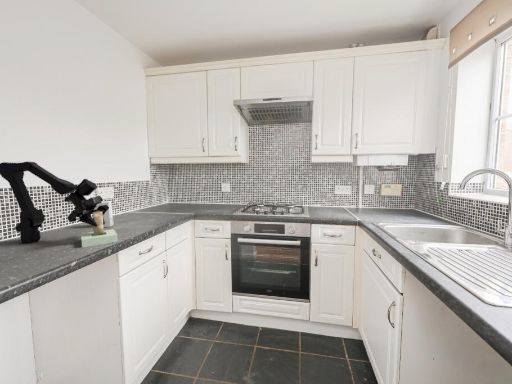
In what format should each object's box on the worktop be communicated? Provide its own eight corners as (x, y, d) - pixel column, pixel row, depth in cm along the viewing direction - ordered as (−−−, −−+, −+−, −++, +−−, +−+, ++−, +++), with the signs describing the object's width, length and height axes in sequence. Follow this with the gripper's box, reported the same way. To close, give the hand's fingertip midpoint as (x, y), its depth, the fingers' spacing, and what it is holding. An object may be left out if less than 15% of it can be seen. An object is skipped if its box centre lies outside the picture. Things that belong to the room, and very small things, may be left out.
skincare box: (113, 224, 150) (112, 200, 149) (110, 227, 144) (108, 202, 143) (98, 225, 148) (97, 201, 147) (94, 228, 142) (93, 202, 140)
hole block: (82, 247, 106) (81, 239, 105) (81, 240, 117) (81, 233, 116) (117, 241, 114) (117, 234, 114) (114, 235, 125) (113, 229, 125)
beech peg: (94, 239, 112) (92, 213, 111) (94, 237, 116) (92, 212, 114) (104, 238, 115) (102, 212, 114) (103, 236, 118) (102, 211, 117)
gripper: (70, 192, 105) (92, 218, 104) (105, 189, 123) (124, 210, 122) (57, 209, 107) (79, 234, 106) (93, 203, 125) (112, 225, 124)
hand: (100, 225), depth 114 cm, fingers closed on beech peg, 4 cm apart
